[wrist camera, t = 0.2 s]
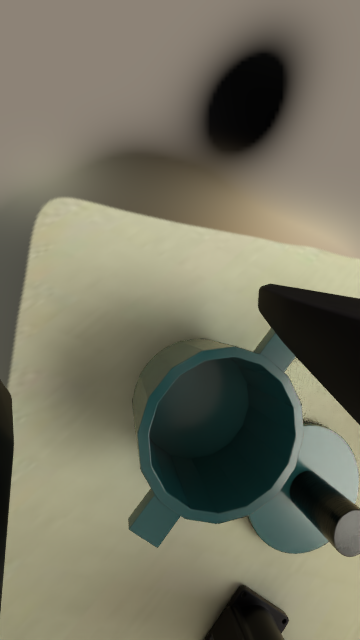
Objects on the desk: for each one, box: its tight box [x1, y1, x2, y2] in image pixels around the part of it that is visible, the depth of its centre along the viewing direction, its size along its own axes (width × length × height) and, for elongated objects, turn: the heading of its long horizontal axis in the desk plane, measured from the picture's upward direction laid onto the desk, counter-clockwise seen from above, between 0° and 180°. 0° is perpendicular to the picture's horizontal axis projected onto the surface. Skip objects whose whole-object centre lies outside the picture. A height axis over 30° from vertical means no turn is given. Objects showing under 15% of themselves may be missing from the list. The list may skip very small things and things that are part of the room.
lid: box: [248, 424, 360, 557], centre depth 24 cm, size 12×12×7 cm
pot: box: [128, 328, 304, 548], centre depth 21 cm, size 11×17×7 cm
